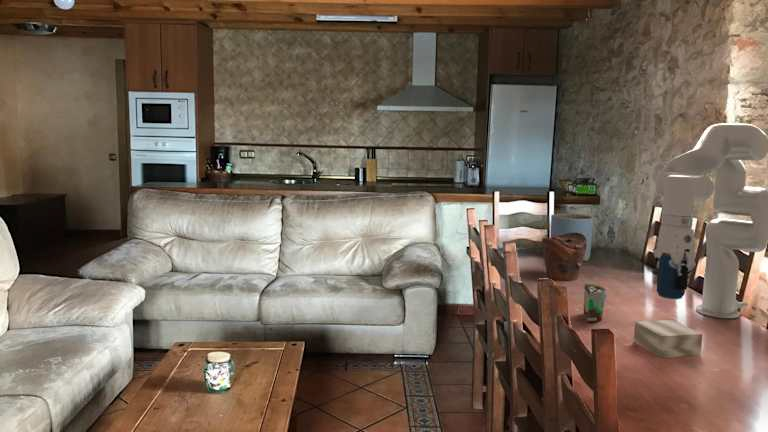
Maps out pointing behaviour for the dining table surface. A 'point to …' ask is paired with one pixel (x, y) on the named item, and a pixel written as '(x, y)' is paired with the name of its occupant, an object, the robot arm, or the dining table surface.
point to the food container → (594, 302)
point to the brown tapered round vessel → (564, 255)
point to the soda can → (668, 278)
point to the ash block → (667, 338)
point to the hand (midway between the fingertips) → (671, 285)
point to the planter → (573, 227)
